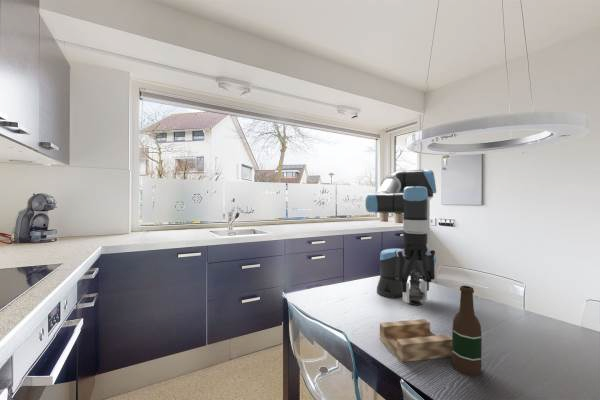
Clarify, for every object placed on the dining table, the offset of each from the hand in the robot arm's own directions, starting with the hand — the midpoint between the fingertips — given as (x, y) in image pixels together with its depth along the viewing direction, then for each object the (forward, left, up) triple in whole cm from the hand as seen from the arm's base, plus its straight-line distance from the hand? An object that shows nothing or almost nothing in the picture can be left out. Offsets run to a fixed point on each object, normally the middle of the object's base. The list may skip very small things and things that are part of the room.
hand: (414, 300), depth 90 cm
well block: (0, 0, -16) cm, 16 cm away
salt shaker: (0, 0, -1) cm, 1 cm away
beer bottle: (-8, +13, -16) cm, 22 cm away
